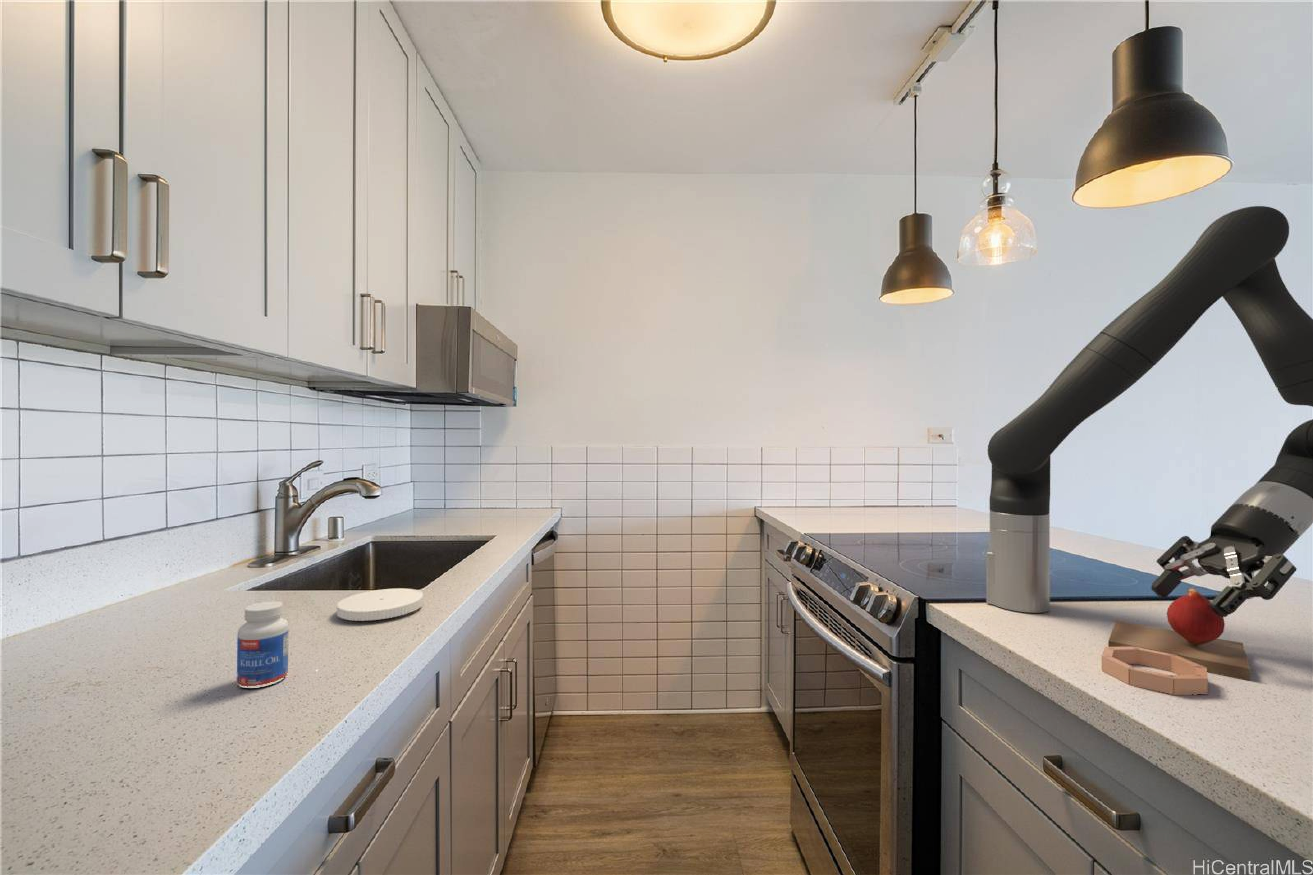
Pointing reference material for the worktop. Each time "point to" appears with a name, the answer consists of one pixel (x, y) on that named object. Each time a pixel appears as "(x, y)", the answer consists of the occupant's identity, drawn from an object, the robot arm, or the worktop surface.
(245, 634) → the pill bottle
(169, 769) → the worktop surface
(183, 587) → the worktop surface
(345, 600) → the plastic lid
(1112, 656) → the ring holder
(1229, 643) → the walnut board
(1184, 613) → the onion
